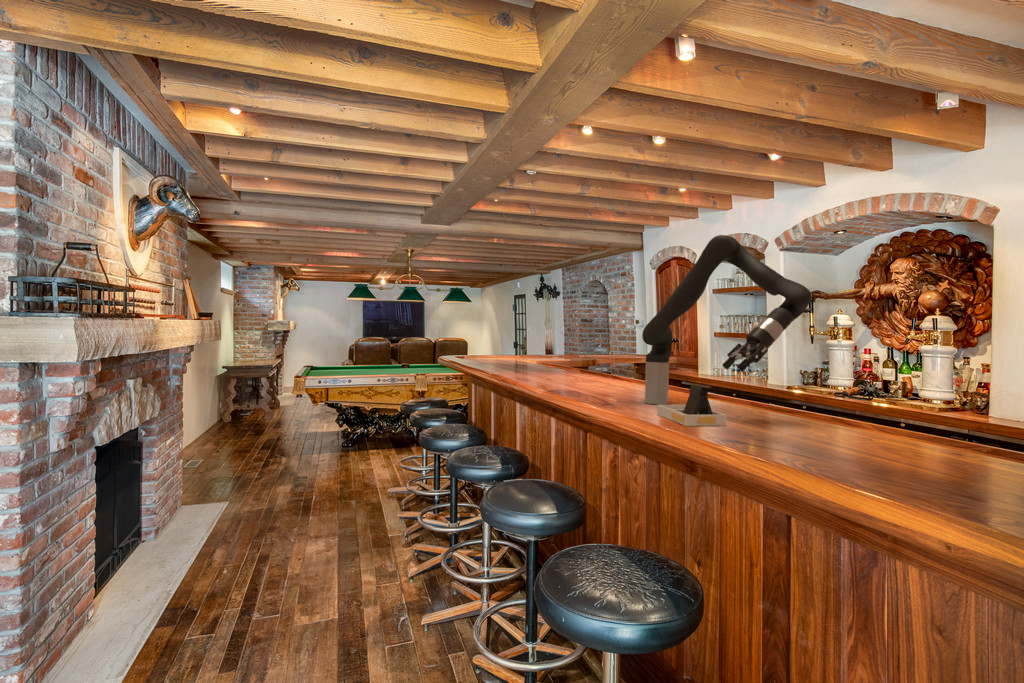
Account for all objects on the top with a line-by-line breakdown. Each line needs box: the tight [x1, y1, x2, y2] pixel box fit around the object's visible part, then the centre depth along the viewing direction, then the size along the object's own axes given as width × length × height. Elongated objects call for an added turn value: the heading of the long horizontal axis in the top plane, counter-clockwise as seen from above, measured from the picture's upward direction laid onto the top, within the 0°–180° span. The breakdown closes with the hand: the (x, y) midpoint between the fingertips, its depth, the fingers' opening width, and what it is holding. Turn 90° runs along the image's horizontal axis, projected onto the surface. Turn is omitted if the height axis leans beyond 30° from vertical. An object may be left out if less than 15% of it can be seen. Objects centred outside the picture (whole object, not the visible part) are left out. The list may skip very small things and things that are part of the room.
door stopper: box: [683, 384, 713, 415], centre depth 160 cm, size 9×6×12 cm, turn 100°
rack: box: [656, 404, 727, 427], centre depth 164 cm, size 21×14×4 cm, turn 8°
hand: (731, 368), depth 161 cm, fingers open, 8 cm apart
